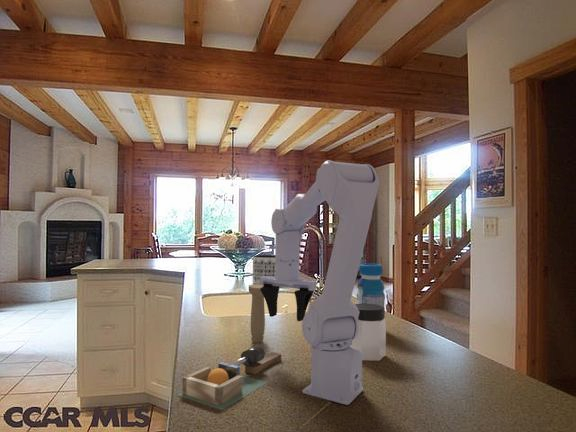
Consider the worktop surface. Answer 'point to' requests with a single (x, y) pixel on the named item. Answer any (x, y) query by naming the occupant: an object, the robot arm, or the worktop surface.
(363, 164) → the robot arm
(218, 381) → the ball
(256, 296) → the handle
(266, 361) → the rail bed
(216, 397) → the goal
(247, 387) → the mat
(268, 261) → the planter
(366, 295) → the beverage bottle
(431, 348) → the worktop surface
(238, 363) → the dark grey round-headed part
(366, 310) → the jar
